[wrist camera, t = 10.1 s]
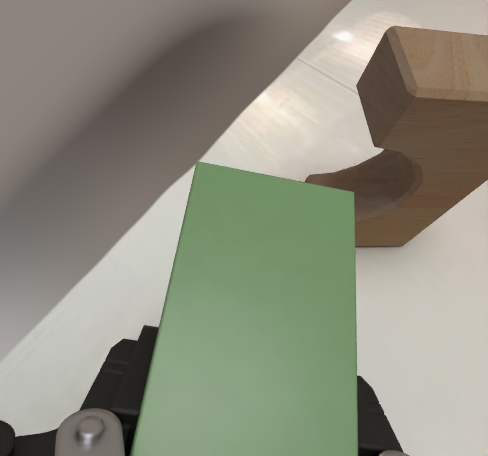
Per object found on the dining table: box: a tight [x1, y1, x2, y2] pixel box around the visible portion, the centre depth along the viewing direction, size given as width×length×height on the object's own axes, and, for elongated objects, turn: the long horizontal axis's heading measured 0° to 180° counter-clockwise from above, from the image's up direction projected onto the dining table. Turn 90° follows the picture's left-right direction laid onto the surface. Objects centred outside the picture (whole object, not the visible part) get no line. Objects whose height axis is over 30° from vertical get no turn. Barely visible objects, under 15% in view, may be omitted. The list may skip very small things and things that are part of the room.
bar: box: [130, 162, 358, 456], centre depth 12 cm, size 5×14×8 cm, turn 173°
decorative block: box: [305, 26, 488, 246], centre depth 31 cm, size 11×6×20 cm, turn 93°
